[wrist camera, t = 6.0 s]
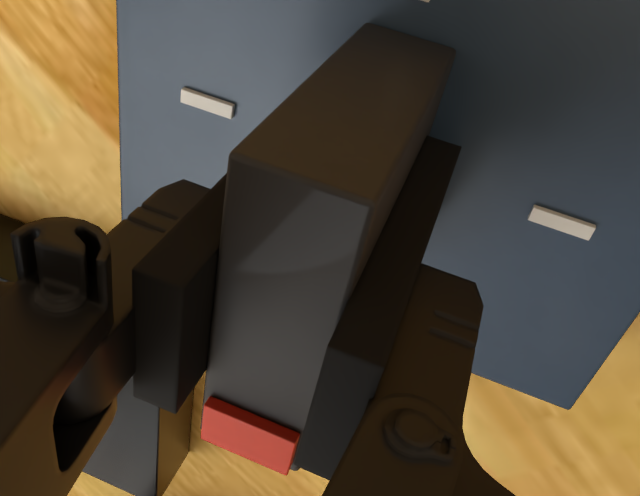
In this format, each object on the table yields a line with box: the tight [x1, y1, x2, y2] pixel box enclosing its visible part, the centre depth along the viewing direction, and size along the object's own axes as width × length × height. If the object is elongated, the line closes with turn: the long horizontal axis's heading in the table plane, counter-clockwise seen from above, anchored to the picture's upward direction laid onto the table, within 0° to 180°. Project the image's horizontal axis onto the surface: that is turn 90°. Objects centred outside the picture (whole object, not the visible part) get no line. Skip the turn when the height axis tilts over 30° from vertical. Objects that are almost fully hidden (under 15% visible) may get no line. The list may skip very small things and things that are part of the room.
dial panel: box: [116, 0, 640, 410], centre depth 15 cm, size 14×11×3 cm
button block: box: [0, 214, 194, 496], centre depth 26 cm, size 13×11×5 cm
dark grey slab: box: [201, 23, 456, 475], centre depth 12 cm, size 6×2×7 cm, turn 170°
